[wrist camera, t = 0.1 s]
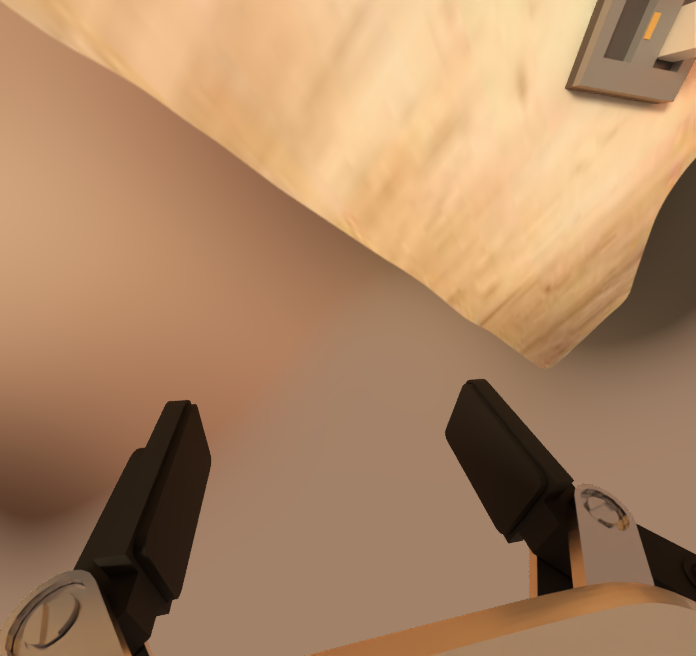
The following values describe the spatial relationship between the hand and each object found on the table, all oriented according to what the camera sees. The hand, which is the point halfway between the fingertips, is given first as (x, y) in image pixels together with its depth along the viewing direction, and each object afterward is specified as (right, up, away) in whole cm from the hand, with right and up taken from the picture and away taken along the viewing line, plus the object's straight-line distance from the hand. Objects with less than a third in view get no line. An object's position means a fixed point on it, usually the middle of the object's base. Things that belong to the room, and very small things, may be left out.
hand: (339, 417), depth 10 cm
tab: (+37, +36, +22) cm, 56 cm away
